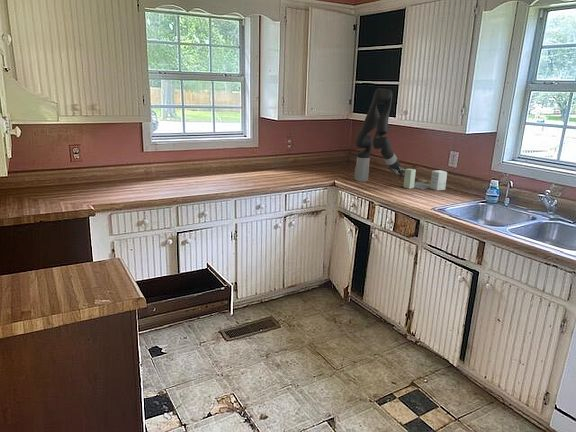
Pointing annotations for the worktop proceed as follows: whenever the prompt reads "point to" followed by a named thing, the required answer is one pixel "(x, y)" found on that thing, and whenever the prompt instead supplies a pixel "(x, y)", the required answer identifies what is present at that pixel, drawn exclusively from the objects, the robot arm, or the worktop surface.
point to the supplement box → (438, 180)
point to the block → (409, 178)
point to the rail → (424, 181)
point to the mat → (421, 185)
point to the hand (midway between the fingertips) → (401, 176)
